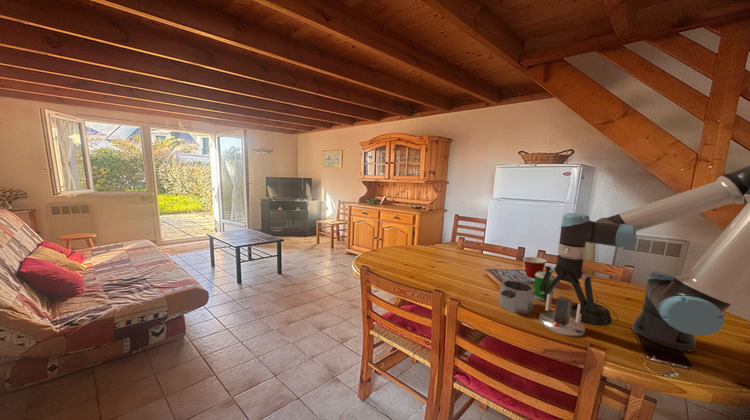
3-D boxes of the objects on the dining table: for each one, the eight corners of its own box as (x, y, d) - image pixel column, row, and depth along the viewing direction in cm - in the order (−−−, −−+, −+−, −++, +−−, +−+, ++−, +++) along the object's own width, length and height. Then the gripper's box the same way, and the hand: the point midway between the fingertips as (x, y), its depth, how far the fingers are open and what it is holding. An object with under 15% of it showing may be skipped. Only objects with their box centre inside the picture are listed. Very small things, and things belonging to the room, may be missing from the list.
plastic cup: (522, 275, 150) (525, 254, 148) (545, 280, 143) (547, 258, 141) (518, 280, 141) (520, 258, 140) (542, 286, 135) (545, 263, 133)
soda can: (533, 300, 119) (536, 274, 118) (532, 293, 126) (535, 269, 124) (553, 304, 116) (556, 277, 114) (551, 297, 122) (554, 272, 121)
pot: (539, 306, 113) (542, 286, 112) (519, 318, 103) (521, 296, 102) (511, 295, 123) (513, 277, 121) (490, 305, 113) (492, 285, 111)
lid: (590, 329, 97) (594, 302, 96) (576, 341, 89) (580, 312, 88) (548, 312, 109) (551, 288, 107) (532, 322, 101) (535, 296, 99)
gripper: (533, 250, 102) (526, 305, 105) (605, 267, 85) (595, 333, 88) (542, 247, 106) (535, 300, 109) (612, 263, 89) (602, 326, 92)
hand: (562, 315), depth 98 cm, fingers open, 9 cm apart
